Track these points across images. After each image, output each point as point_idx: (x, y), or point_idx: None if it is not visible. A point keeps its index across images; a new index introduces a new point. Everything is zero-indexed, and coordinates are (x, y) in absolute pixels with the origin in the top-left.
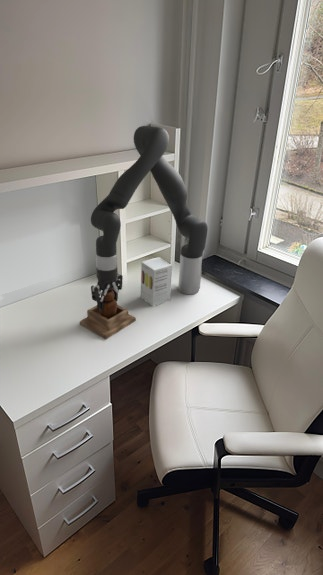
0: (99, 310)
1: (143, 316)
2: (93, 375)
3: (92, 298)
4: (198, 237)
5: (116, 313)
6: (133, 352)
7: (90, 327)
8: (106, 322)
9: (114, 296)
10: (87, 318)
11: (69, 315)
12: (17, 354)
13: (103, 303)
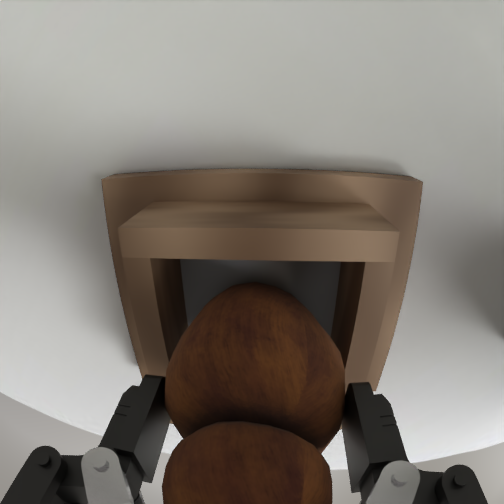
0: (181, 338)
1: (421, 372)
2: (43, 412)
3: (29, 464)
4: None
5: (335, 327)
6: None
7: (118, 282)
8: None
9: (352, 448)
10: (159, 192)
11: (135, 37)
12: None
13: (181, 434)
